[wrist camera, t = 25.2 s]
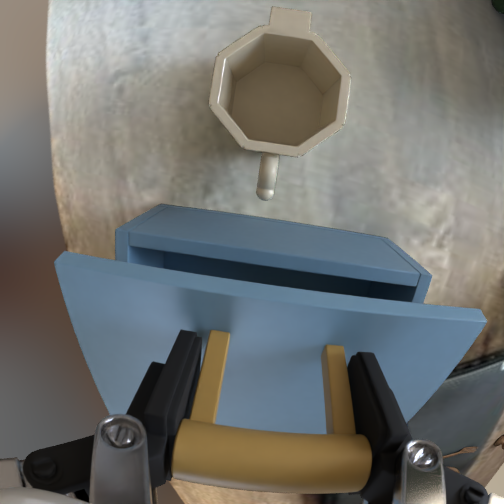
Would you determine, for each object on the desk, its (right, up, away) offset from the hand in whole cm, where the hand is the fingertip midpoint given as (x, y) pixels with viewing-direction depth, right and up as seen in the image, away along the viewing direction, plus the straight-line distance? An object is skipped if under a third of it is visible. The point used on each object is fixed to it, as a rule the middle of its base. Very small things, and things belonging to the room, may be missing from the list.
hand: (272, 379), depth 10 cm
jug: (+1, +14, +9) cm, 17 cm away
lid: (-1, -5, +5) cm, 7 cm away
